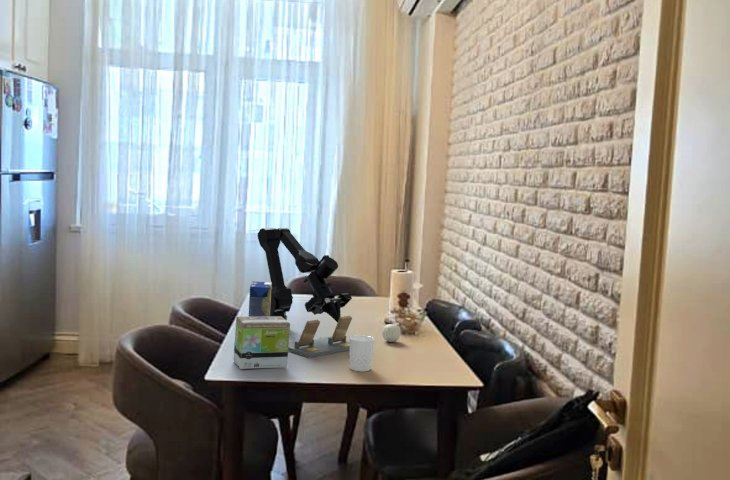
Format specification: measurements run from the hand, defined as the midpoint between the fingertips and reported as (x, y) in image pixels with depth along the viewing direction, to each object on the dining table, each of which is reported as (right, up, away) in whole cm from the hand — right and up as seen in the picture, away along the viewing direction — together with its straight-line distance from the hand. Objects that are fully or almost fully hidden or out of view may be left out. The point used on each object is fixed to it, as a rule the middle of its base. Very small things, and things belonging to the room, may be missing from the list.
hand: (339, 321), depth 251 cm
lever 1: (-12, -7, -8) cm, 16 cm away
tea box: (-24, -10, -28) cm, 38 cm away
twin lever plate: (-6, -9, -3) cm, 11 cm away
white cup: (+8, -12, -25) cm, 29 cm away
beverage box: (-28, -8, -8) cm, 30 cm away
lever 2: (-1, -7, +1) cm, 7 cm away
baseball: (+19, -9, +13) cm, 24 cm away
